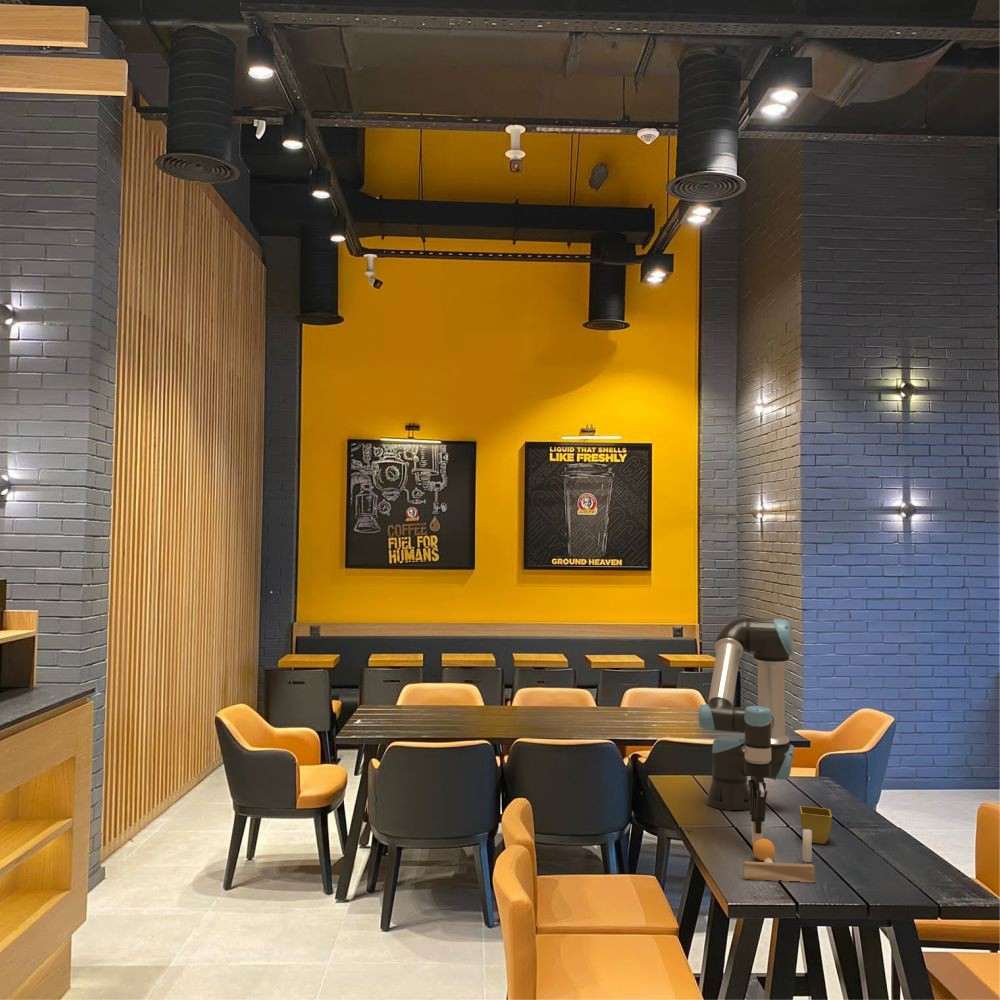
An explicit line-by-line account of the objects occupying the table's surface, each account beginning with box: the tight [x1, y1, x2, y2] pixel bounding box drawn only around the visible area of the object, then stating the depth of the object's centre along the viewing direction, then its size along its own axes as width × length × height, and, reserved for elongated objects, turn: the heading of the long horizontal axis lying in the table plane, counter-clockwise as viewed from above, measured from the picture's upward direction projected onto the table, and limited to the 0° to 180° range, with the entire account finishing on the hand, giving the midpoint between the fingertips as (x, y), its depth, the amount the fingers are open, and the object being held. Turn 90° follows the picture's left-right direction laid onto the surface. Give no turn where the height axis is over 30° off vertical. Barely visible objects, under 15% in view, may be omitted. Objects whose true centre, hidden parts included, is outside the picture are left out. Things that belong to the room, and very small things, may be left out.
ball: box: [752, 837, 776, 862], centre depth 252 cm, size 6×6×6 cm
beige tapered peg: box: [802, 829, 813, 863], centre depth 252 cm, size 2×2×8 cm
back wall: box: [742, 861, 816, 883], centre depth 237 cm, size 2×18×4 cm, turn 87°
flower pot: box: [799, 805, 833, 845], centre depth 271 cm, size 9×9×9 cm
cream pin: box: [763, 858, 775, 863], centre depth 243 cm, size 2×2×8 cm
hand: (757, 843), depth 261 cm, fingers closed
